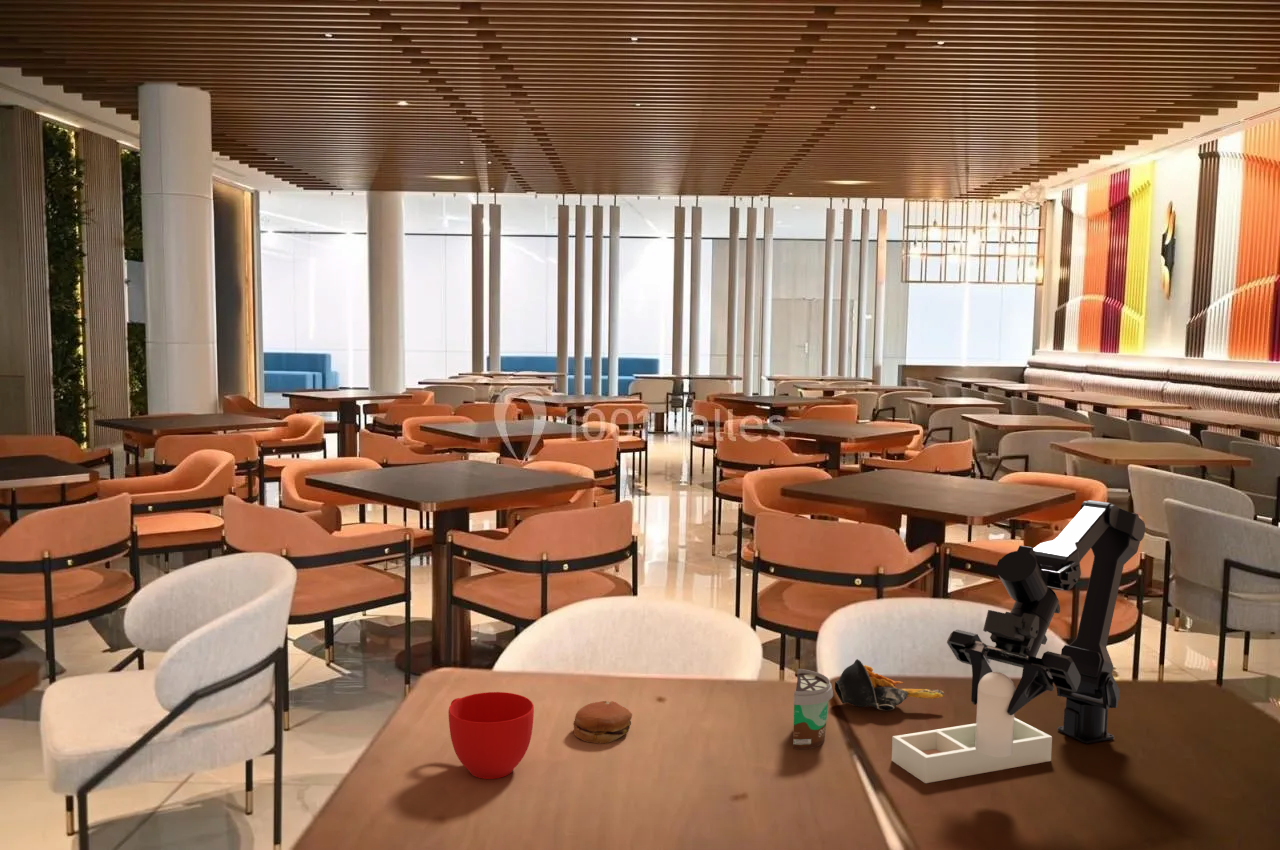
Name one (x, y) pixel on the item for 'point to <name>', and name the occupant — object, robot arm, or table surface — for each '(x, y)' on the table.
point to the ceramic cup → (491, 732)
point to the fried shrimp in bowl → (875, 689)
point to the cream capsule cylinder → (994, 715)
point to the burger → (602, 722)
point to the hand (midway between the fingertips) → (991, 708)
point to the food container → (810, 709)
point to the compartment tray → (965, 752)
